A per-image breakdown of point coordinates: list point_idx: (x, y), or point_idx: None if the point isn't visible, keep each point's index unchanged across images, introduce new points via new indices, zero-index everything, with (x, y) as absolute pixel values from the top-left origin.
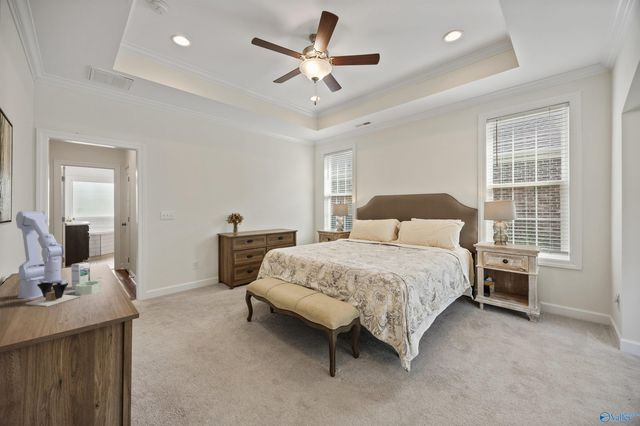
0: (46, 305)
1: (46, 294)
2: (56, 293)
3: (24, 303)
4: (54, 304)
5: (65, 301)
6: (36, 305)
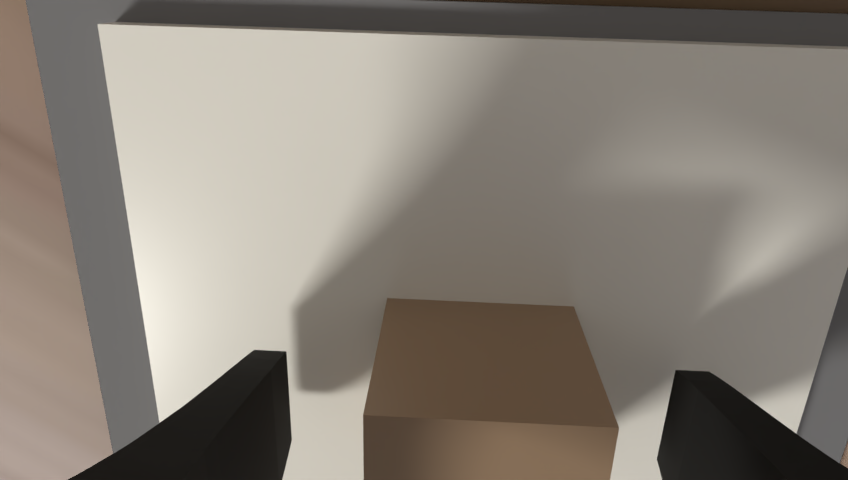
0: (111, 22)
1: (573, 395)
2: (154, 429)
3: None
4: (111, 170)
5: (127, 363)
6: (465, 21)
